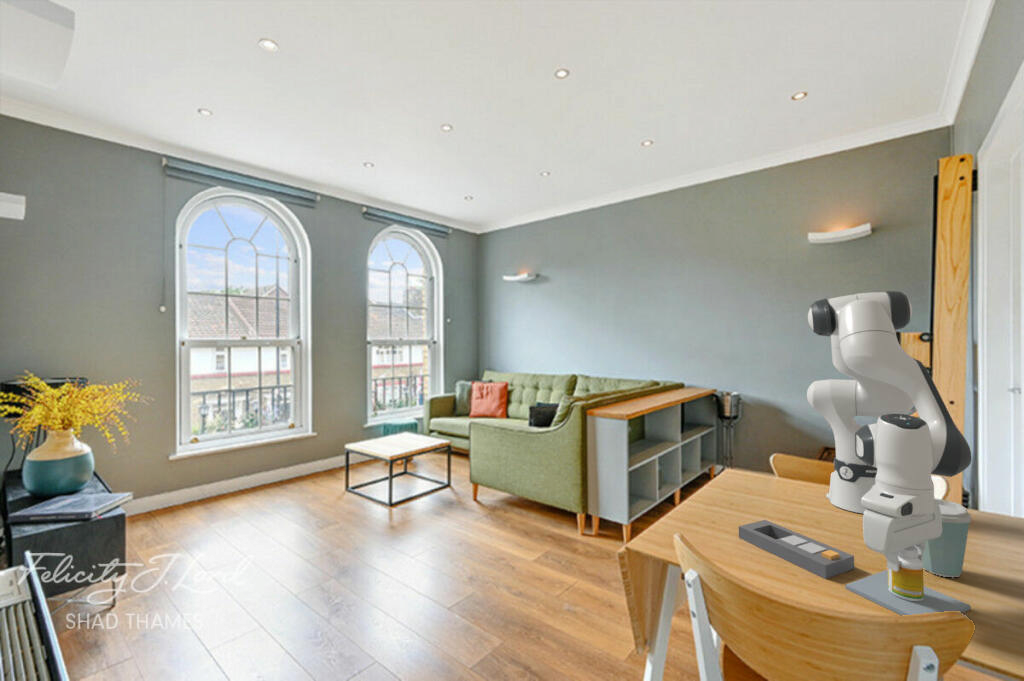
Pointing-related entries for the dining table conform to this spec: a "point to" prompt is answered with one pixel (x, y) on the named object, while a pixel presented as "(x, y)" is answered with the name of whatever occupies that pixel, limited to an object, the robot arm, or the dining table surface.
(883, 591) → the mat
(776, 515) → the dining table surface
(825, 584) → the dining table surface
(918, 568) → the supplement bottle
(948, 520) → the disposable coffee cup
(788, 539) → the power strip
